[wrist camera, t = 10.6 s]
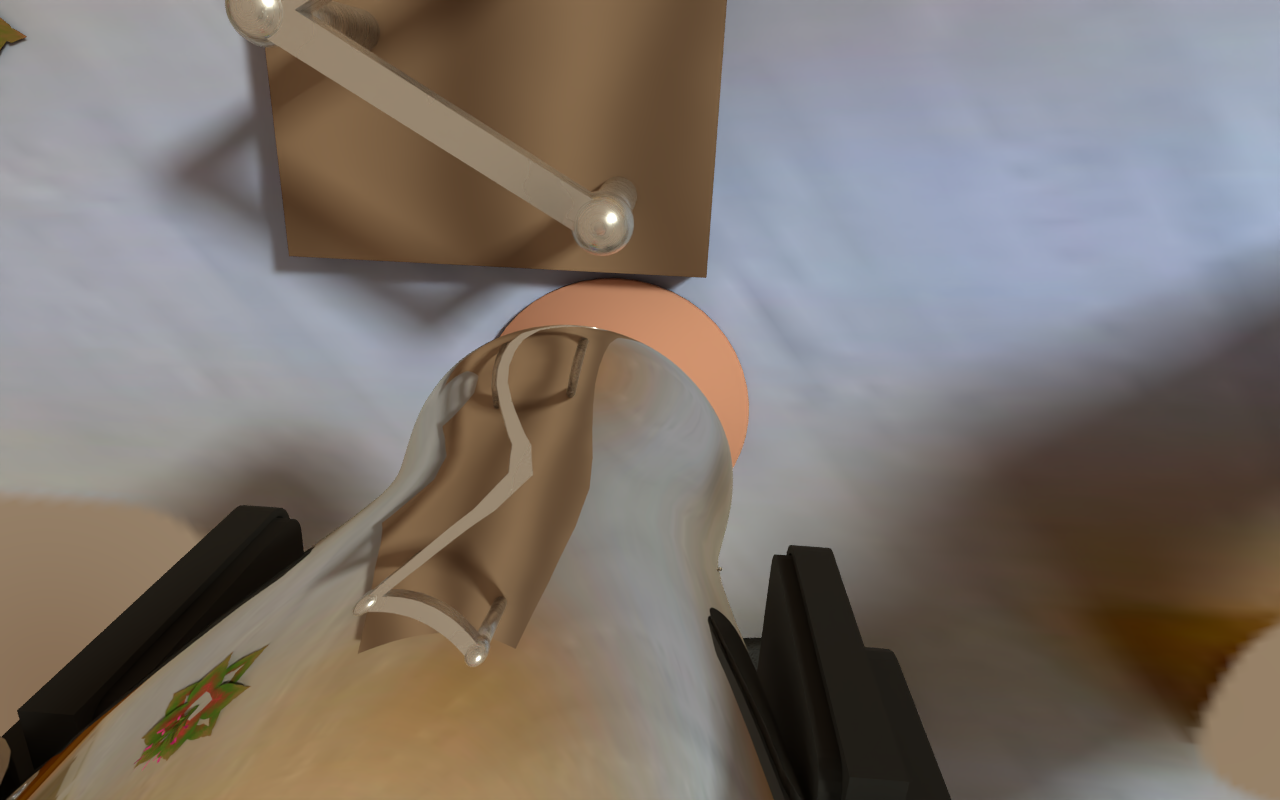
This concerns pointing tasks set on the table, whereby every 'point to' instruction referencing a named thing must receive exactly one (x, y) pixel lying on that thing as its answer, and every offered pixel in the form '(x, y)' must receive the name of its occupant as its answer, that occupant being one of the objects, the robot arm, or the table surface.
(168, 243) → the table surface
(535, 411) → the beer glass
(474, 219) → the board
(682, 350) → the pad
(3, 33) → the lily flower
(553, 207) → the bent wire
